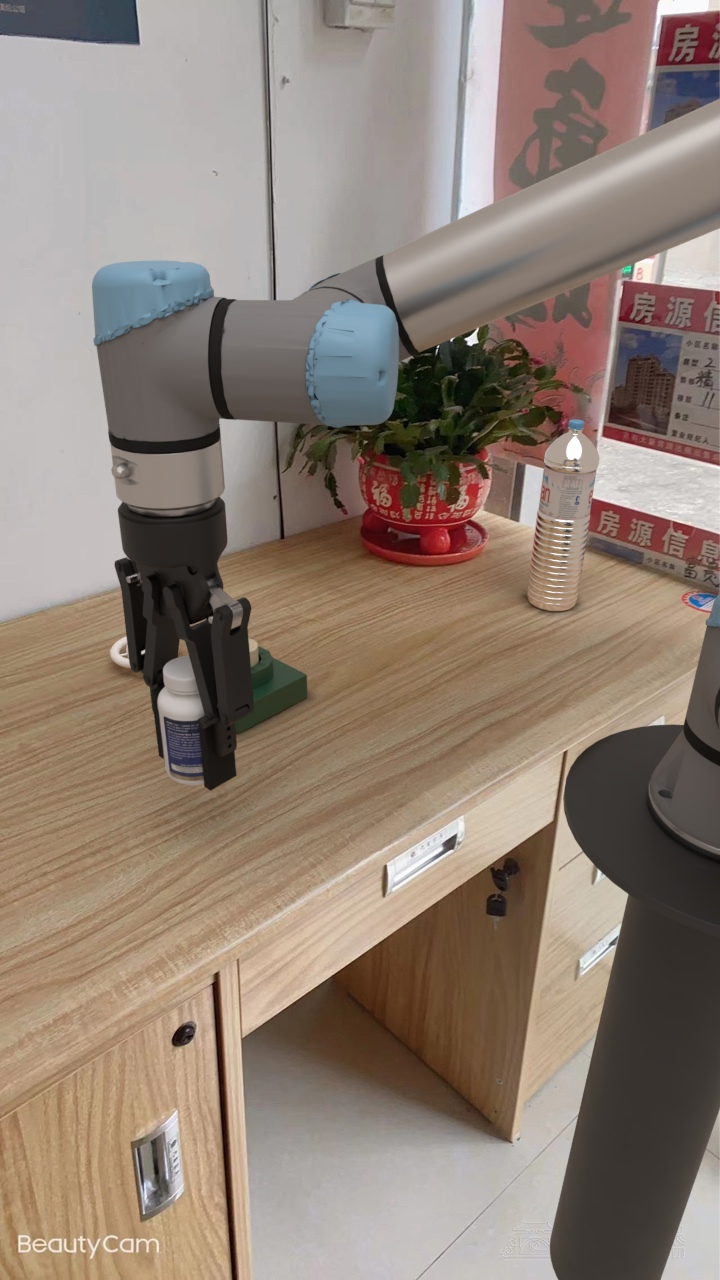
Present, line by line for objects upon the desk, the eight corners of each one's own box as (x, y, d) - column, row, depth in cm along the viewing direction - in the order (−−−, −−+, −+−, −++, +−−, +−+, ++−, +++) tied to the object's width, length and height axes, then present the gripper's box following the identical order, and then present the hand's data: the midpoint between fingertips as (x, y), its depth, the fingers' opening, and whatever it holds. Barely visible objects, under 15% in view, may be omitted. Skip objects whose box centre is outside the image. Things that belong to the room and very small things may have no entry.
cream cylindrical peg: (265, 661, 96) (265, 645, 95) (240, 673, 93) (239, 657, 92) (243, 650, 98) (243, 634, 97) (218, 661, 96) (217, 645, 95)
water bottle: (567, 617, 117) (595, 431, 106) (518, 605, 120) (541, 422, 108) (582, 598, 123) (611, 419, 111) (536, 587, 126) (559, 411, 114)
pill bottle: (242, 773, 73) (235, 671, 68) (182, 796, 70) (171, 692, 66) (212, 742, 77) (204, 643, 72) (155, 762, 74) (142, 662, 70)
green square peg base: (307, 697, 98) (307, 658, 96) (238, 734, 92) (236, 693, 89) (248, 666, 104) (246, 628, 102) (179, 697, 98) (176, 658, 95)
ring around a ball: (173, 680, 101) (187, 646, 108) (167, 636, 98) (182, 604, 105) (104, 680, 101) (122, 646, 108) (96, 636, 98) (115, 604, 105)
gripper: (54, 482, 65) (96, 740, 76) (212, 547, 55) (234, 838, 65) (139, 461, 70) (167, 707, 81) (299, 517, 59) (306, 792, 70)
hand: (196, 765), depth 73 cm, fingers closed on pill bottle, 5 cm apart
